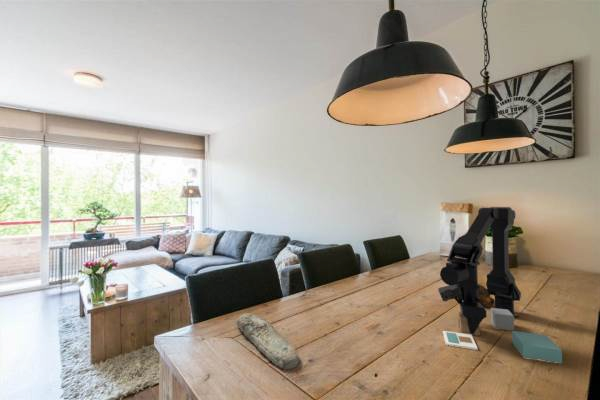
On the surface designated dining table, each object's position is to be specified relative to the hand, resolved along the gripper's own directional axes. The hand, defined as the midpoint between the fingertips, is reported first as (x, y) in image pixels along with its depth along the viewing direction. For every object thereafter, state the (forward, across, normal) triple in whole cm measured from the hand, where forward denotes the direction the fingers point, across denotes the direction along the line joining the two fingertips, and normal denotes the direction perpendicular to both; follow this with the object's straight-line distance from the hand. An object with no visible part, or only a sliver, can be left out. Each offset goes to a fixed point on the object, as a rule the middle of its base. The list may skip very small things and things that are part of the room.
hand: (468, 326), depth 87 cm
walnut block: (+1, 0, 0) cm, 1 cm away
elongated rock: (+2, +27, -61) cm, 67 cm away
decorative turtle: (+2, -28, +8) cm, 29 cm away
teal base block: (+2, +8, +14) cm, 17 cm away
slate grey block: (+1, -7, +11) cm, 13 cm away
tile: (+1, +8, -4) cm, 9 cm away
